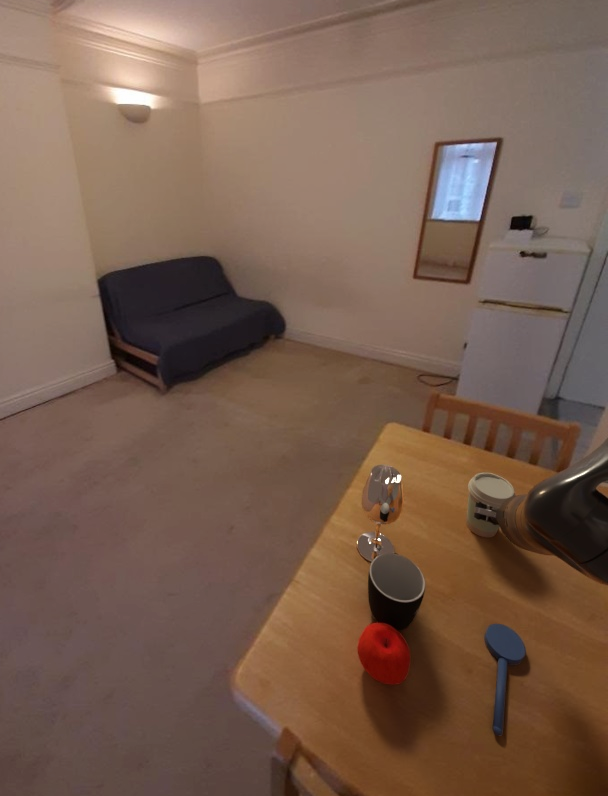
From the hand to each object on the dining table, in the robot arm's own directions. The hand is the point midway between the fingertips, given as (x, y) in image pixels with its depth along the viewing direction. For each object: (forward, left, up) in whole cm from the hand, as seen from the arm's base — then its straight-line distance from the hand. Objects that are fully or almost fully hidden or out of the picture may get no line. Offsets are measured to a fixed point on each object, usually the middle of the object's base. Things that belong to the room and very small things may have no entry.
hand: (506, 520), depth 70 cm
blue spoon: (+5, +16, -16) cm, 23 cm away
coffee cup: (-5, -13, -16) cm, 21 cm away
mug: (+19, +5, -16) cm, 26 cm away
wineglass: (+19, -7, -16) cm, 26 cm away
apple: (+23, +15, -16) cm, 32 cm away
